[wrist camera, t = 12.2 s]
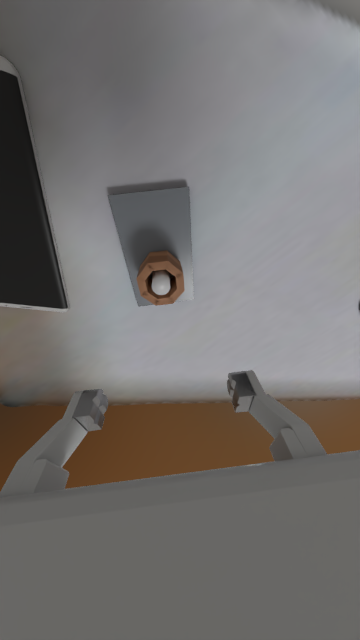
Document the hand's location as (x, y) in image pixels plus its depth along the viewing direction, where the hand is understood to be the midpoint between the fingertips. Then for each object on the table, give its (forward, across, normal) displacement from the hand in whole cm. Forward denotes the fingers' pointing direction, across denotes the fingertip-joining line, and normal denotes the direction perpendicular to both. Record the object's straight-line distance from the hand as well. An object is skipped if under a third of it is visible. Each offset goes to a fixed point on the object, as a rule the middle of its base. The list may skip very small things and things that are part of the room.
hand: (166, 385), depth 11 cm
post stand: (+21, 0, -2) cm, 21 cm away
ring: (+19, 0, 0) cm, 19 cm away
